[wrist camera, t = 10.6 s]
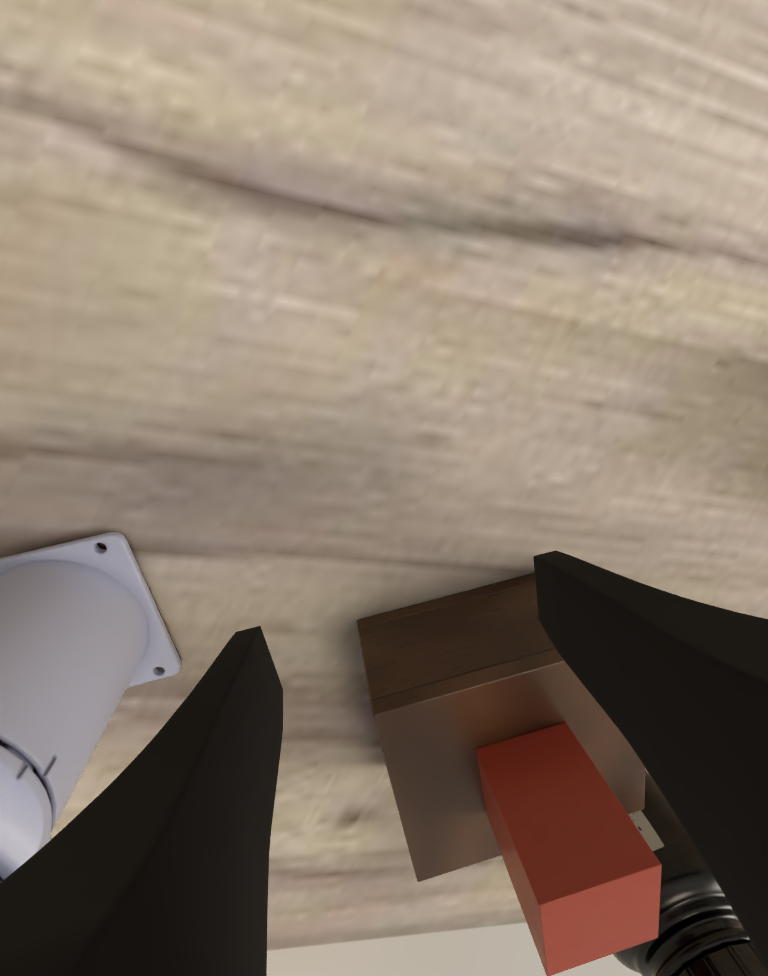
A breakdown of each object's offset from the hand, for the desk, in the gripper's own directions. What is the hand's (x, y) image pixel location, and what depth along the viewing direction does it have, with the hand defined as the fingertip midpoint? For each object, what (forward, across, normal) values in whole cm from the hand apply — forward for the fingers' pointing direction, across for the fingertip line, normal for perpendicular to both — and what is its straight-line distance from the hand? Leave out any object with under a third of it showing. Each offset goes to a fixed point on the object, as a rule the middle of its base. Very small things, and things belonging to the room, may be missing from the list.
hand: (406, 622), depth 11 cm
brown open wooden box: (+10, -4, +13) cm, 17 cm away
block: (+4, -4, +12) cm, 14 cm away
